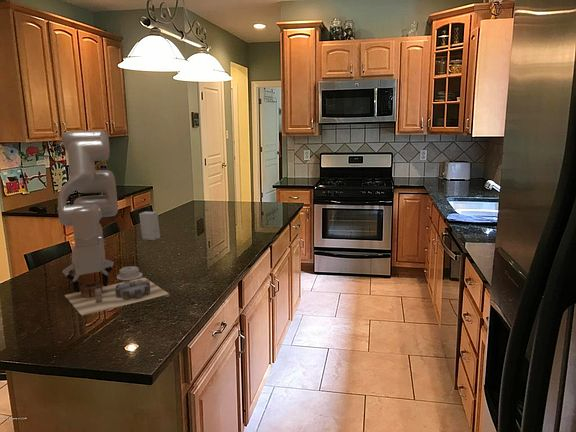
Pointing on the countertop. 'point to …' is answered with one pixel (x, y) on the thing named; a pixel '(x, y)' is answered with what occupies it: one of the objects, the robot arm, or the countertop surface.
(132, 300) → the gear board
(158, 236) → the skincare box
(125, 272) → the mechanical component
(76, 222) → the robot arm
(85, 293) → the walnut gear
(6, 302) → the countertop surface
